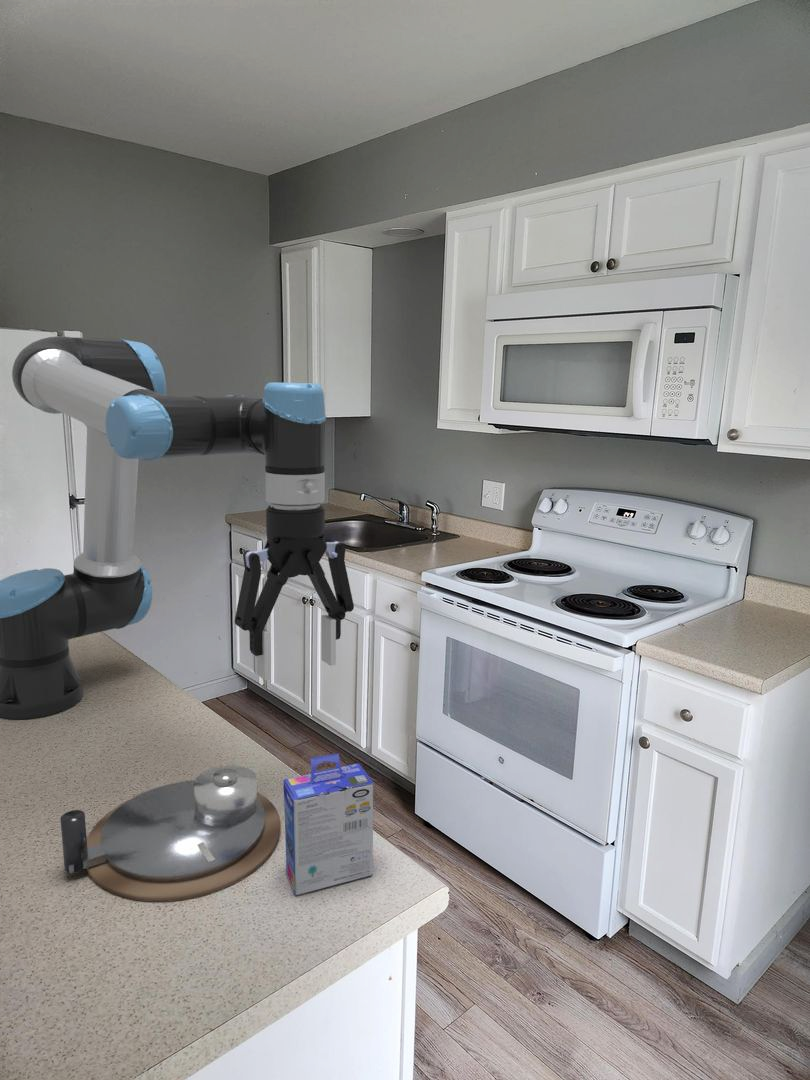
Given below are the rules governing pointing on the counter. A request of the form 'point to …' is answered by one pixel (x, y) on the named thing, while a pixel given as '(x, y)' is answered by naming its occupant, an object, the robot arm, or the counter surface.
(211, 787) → the cover
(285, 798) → the ink cartridge box
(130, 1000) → the counter surface
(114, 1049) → the counter surface
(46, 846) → the counter surface
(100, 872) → the base
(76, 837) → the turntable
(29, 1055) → the counter surface
